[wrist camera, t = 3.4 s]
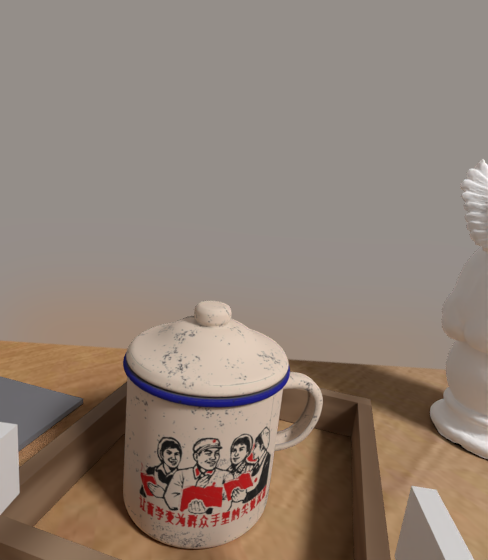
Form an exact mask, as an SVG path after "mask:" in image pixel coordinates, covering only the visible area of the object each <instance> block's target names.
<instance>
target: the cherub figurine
mask: <svg viewBox="0 0 488 560" xmlns="http://www.w3.org/2000/svg"><path fill="white" fill-rule="evenodd" d="M467 178H468V179H467V180H463V181H462V182H461V189H462V190H463V191H465V192H464V193H463V194H462V195H461V197H462V198H463V200H464V201H466V203H465V204H464V209H465V210H467V211H469V213H468V214H466V215H465V220H466V221H467V222H468V223H467V225H466V226H467V229H468V230H470V237H471V239H472V240H473V241H475V244H476V245H479V246H481V247H480V248H479V249H478V250H477V251H475V252H474V253H473V255H472V256H471V257H470V258H469V259H468V261H467V262H466V263H465V265H464V267H463V269H462V270H461V272H460V275H459V277H458V280H457V282H456V285H455V288H454V289H453V290H452V292H451V293H450V294H449V296H448V297H447V299H446V301H445V302H444V304H443V308H442V314H443V316H442V328H443V330H444V332H445V333H446V334H447V336H449V337H450V338H452V339H455V340H456V341H455V342H454V343H453V345H452V347H451V349H450V351H449V353H448V356H447V361H446V376H447V381H448V385H449V387H448V388H447V389H446V390H445V391H444V394H443V397H444V399H441V400H438V401H436V402H435V403H433V404H432V406H431V408H430V417H431V419H432V422H433V421H434V422H433V423H434V424H435V426H436V428H437V430H438V432H439V433H440V434H441V435H442V436H444V437H446V439H449V440H451V441H452V442H454V443H459V444H460V445H462V447H463V448H465V449H466V450H468V451H470V452H472V453H474V454H476V455H479V456H480V457H483V458H486V459H488V165H487V164H486V163H485V160H484V159H482V160H481V161H480V162H479V163H478V164H477V165H476V166H475V169H469V170H468V172H467Z"/></svg>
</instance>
